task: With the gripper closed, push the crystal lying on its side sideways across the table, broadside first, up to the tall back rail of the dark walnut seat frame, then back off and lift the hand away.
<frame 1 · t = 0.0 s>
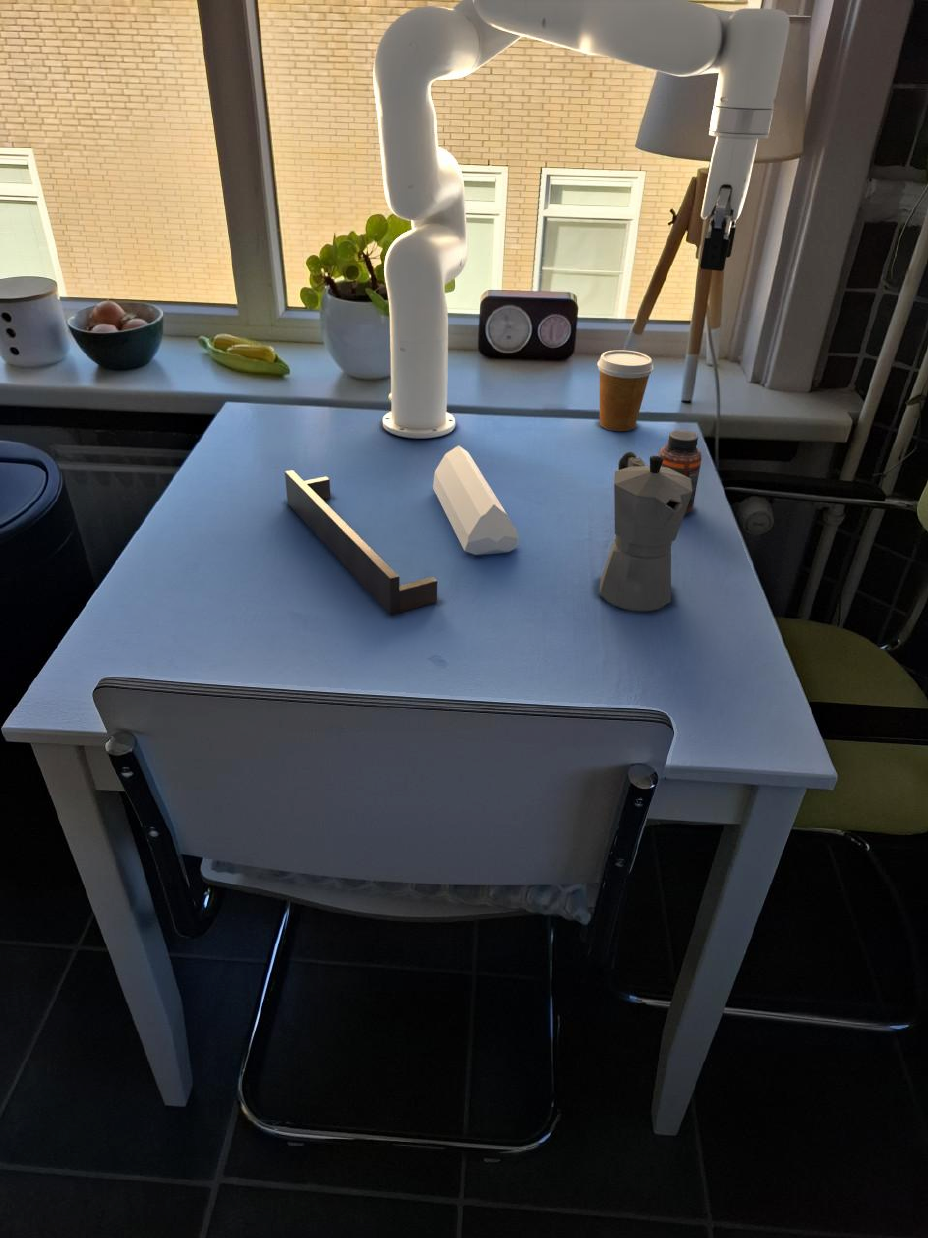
hand: (715, 262, 123), 31 cm above the table, tool pointing down, fingers open, 9 cm apart
frame: (363, 546, 116), on the table
supplement bottle: (671, 509, 128), on the table
crystal: (473, 521, 123), on the table
disposable coffee cup: (617, 426, 156), on the table
coffeepot: (631, 589, 109), on the table
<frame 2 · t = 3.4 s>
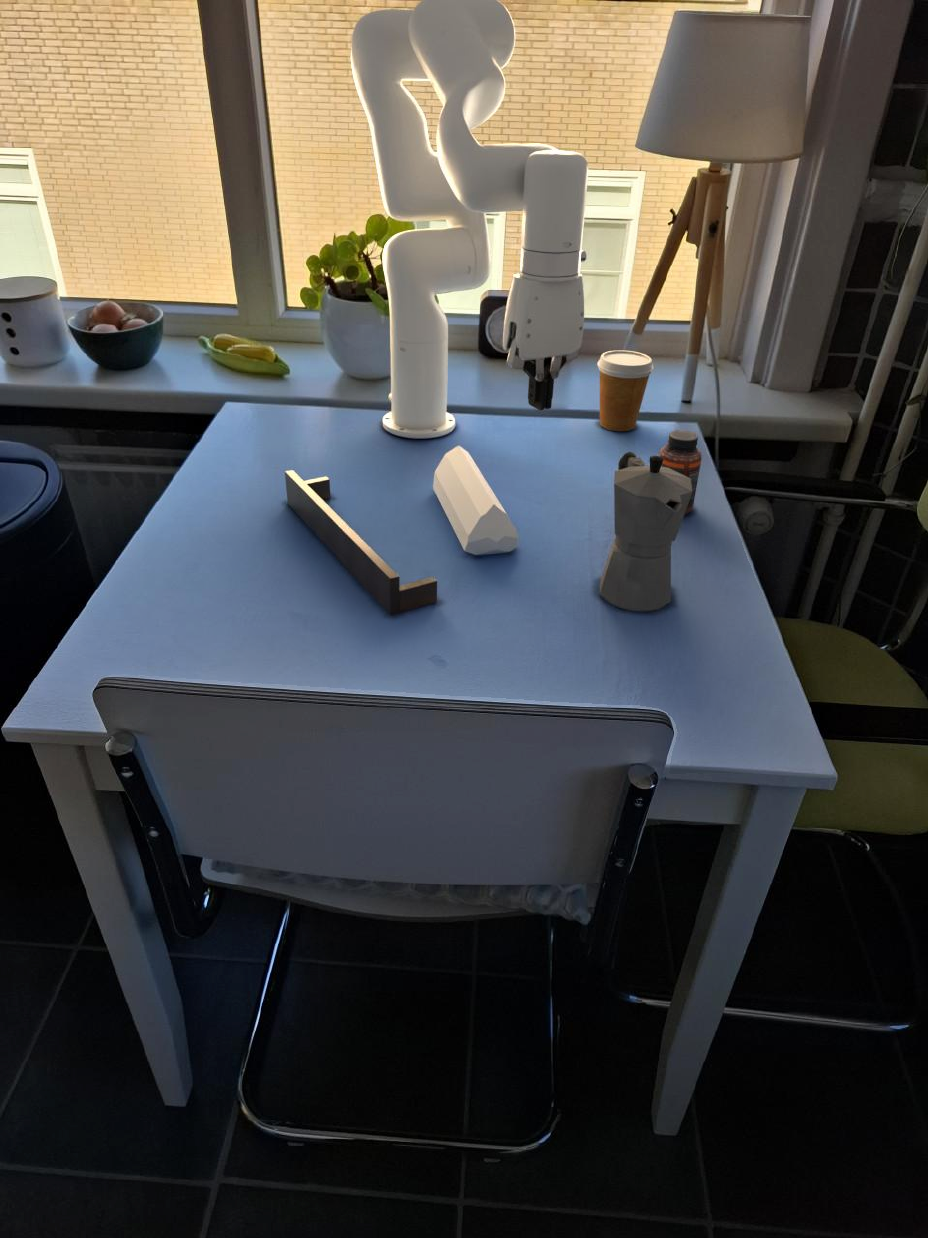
hand: (539, 406, 119), 15 cm above the table, tool pointing down, fingers closed
nothing on the table moved.
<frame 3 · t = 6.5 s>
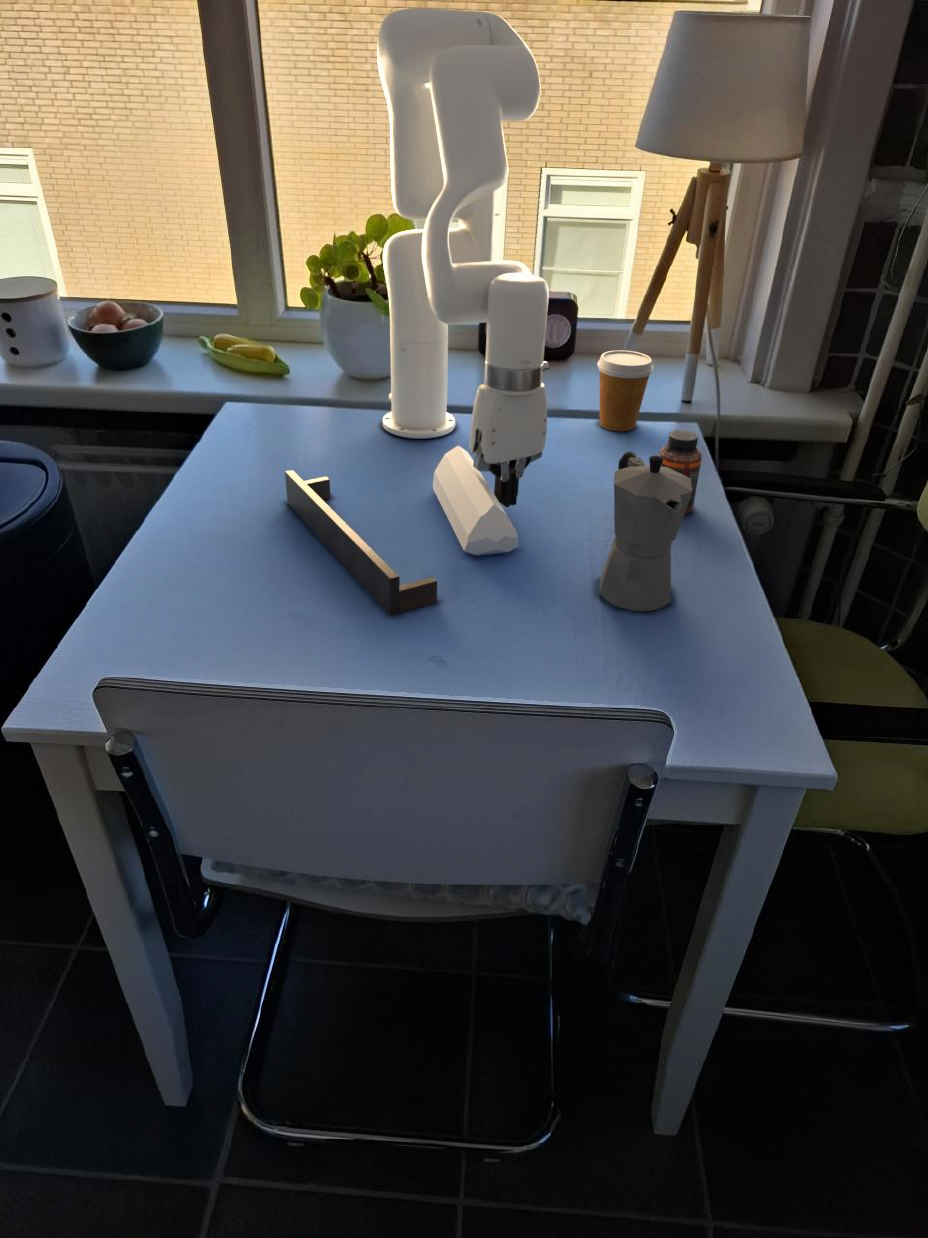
hand: (505, 502, 125), 2 cm above the table, tool pointing down, fingers closed
crystal: (472, 521, 123), on the table, touching gripper
everything else where it was.
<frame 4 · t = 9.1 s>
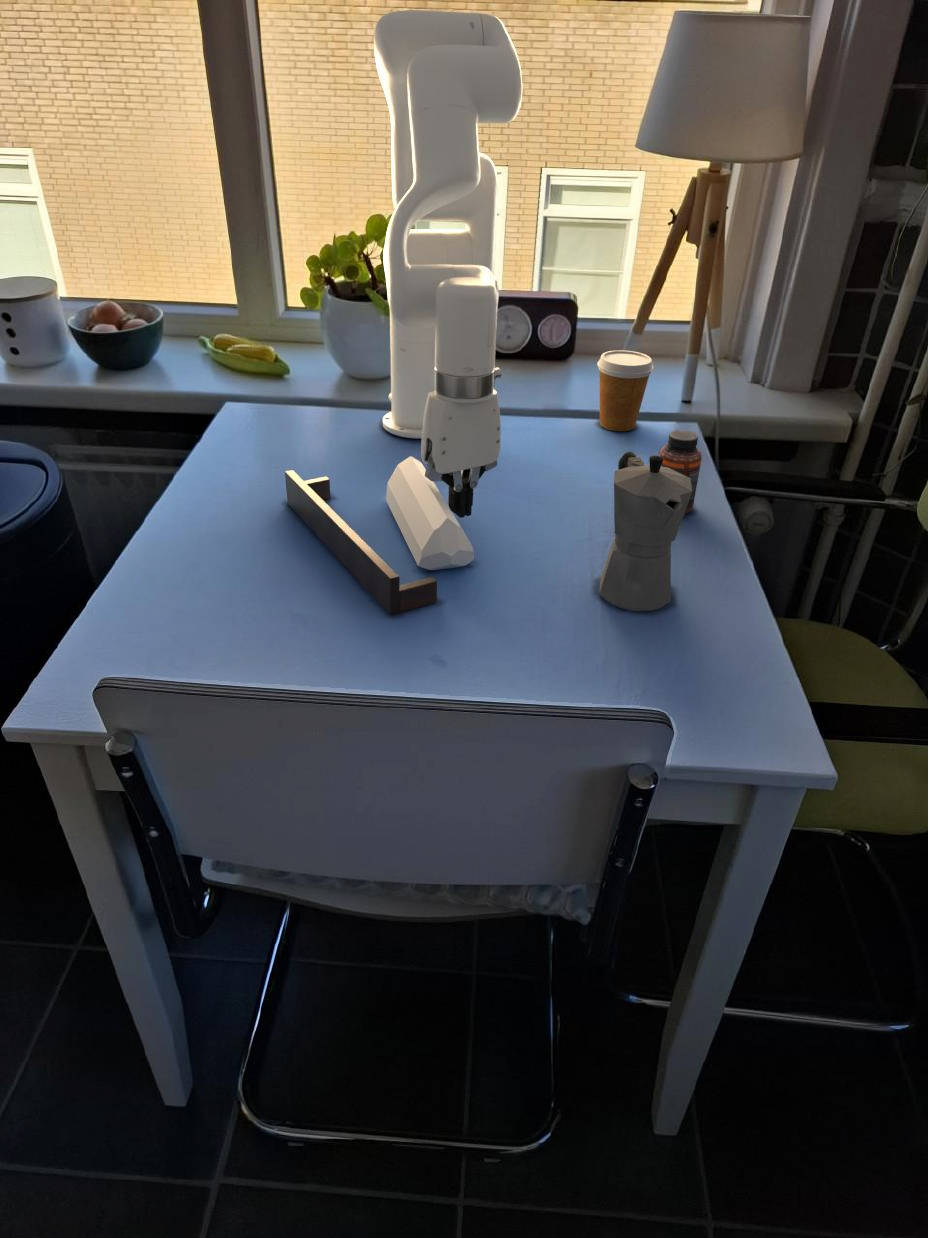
hand: (460, 512, 121), 2 cm above the table, tool pointing down, fingers closed
crystal: (427, 534, 120), on the table, touching gripper
everything else where it was.
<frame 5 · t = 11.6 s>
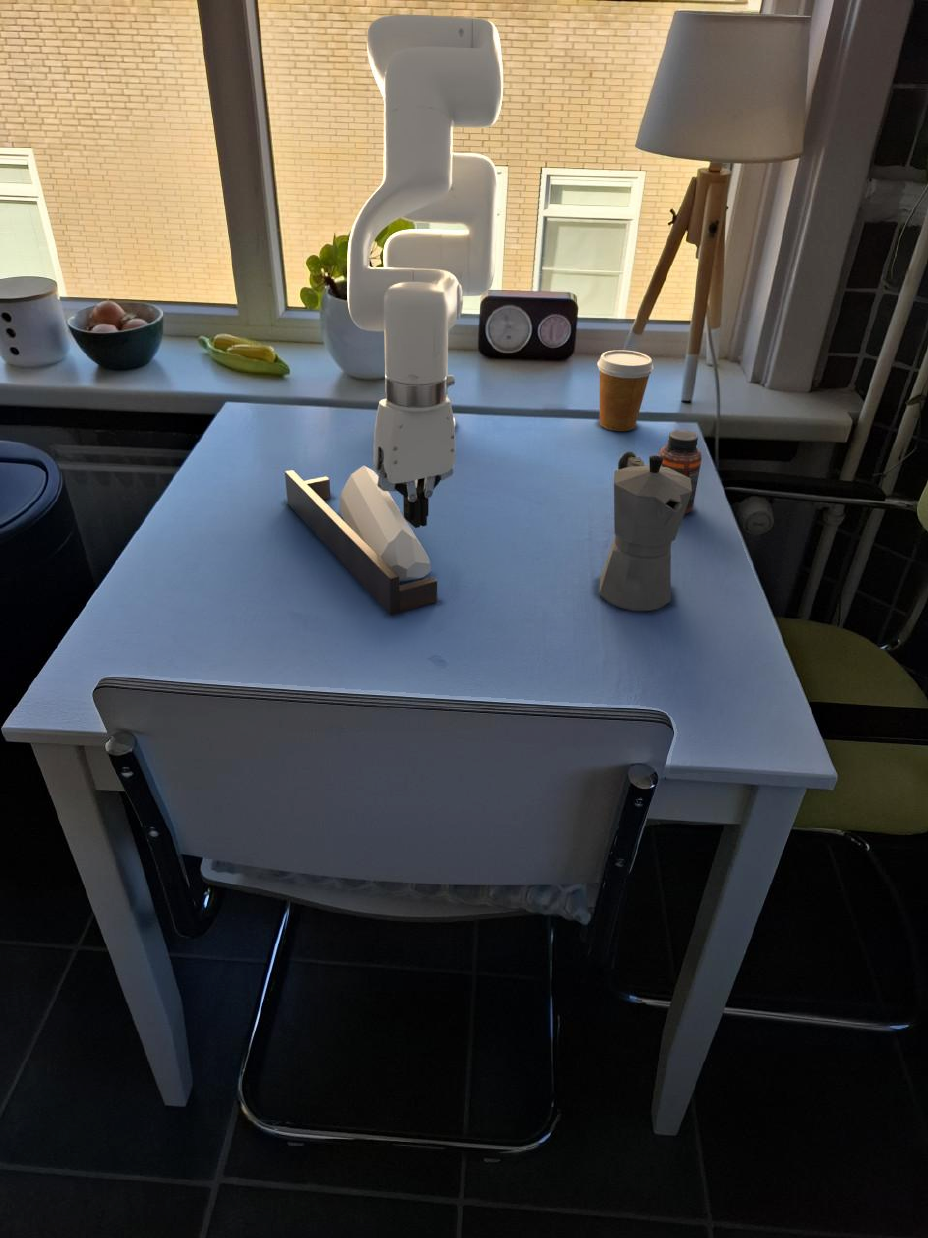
hand: (415, 522, 118), 2 cm above the table, tool pointing down, fingers closed
crystal: (382, 545, 117), on the table, touching frame, gripper
everything else where it was.
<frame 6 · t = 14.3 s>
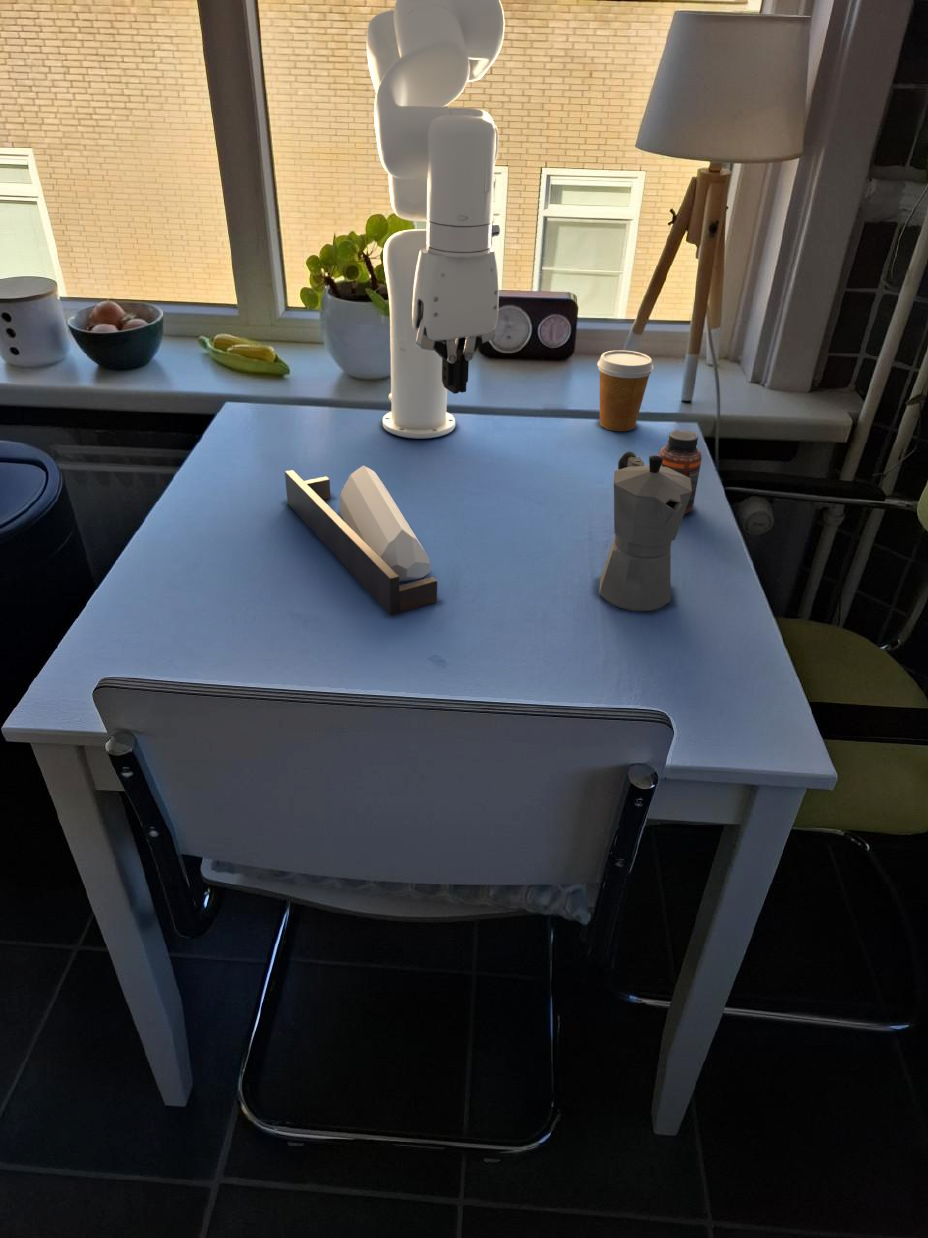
hand: (454, 389, 113), 19 cm above the table, tool pointing down, fingers closed
crystal: (382, 545, 117), on the table
everything else where it was.
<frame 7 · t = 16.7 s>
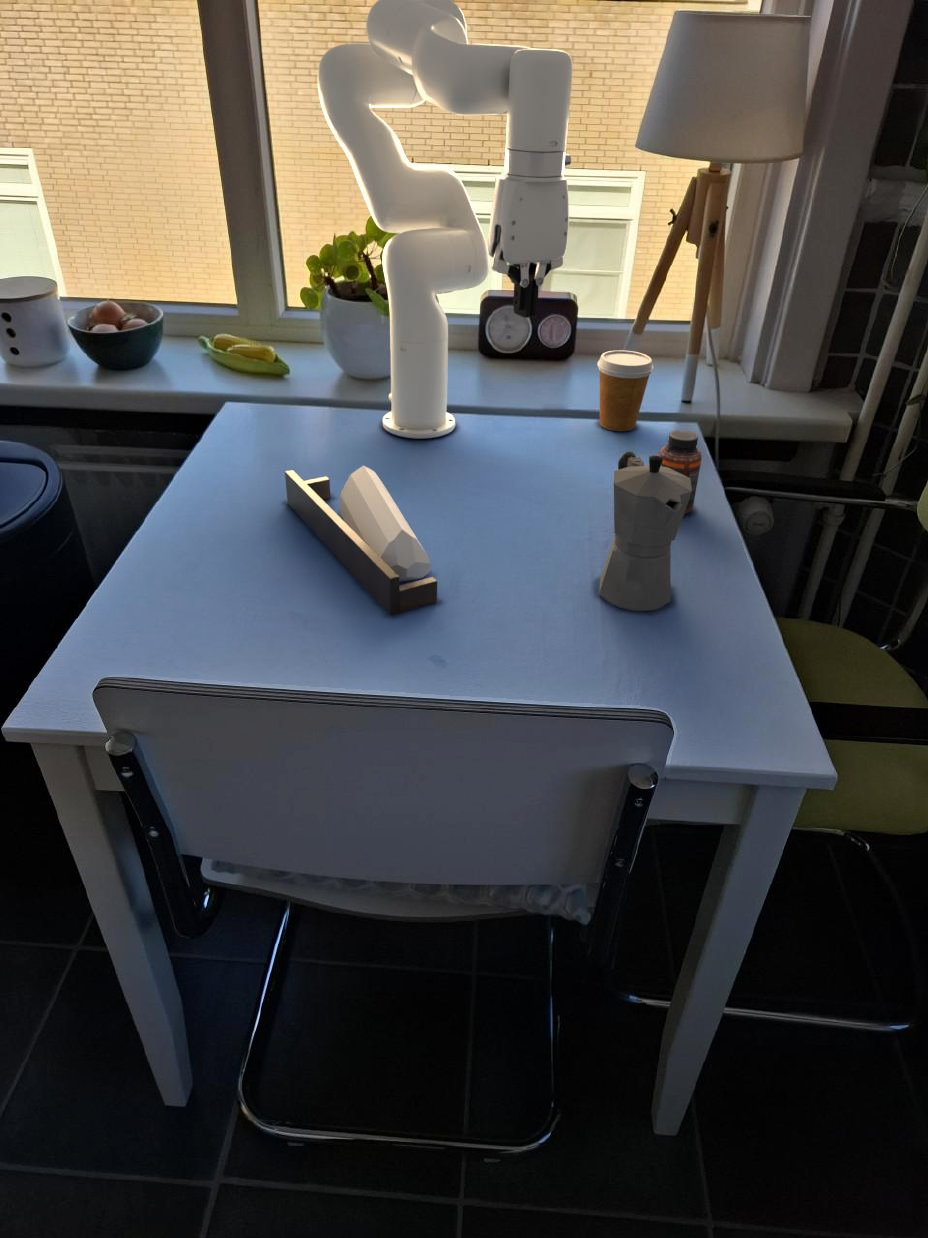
hand: (524, 314, 120), 25 cm above the table, tool pointing down, fingers closed
nothing on the table moved.
at the end: crystal inside the target area on the frame (0.8 cm from its centre), point 0.0 cm above the frame's base; crystal tilted 0°; crystal moved 14.4 cm from its start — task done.
